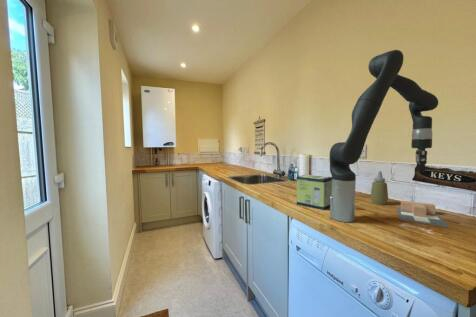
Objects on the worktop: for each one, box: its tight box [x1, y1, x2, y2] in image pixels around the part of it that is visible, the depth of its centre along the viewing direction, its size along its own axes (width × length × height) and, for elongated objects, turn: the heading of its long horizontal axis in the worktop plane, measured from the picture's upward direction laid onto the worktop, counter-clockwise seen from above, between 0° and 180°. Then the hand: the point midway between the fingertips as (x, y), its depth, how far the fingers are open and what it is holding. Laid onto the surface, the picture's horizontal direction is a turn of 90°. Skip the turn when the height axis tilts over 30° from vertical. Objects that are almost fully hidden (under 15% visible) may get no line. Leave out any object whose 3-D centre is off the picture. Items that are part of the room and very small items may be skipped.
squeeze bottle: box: [369, 170, 389, 206], centre depth 113 cm, size 8×8×18 cm
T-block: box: [400, 200, 436, 217], centre depth 96 cm, size 12×11×4 cm
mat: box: [396, 206, 450, 229], centre depth 93 cm, size 15×23×1 cm, turn 146°
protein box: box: [296, 174, 332, 211], centre depth 112 cm, size 10×16×16 cm
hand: (420, 171), depth 102 cm, fingers open, 8 cm apart
